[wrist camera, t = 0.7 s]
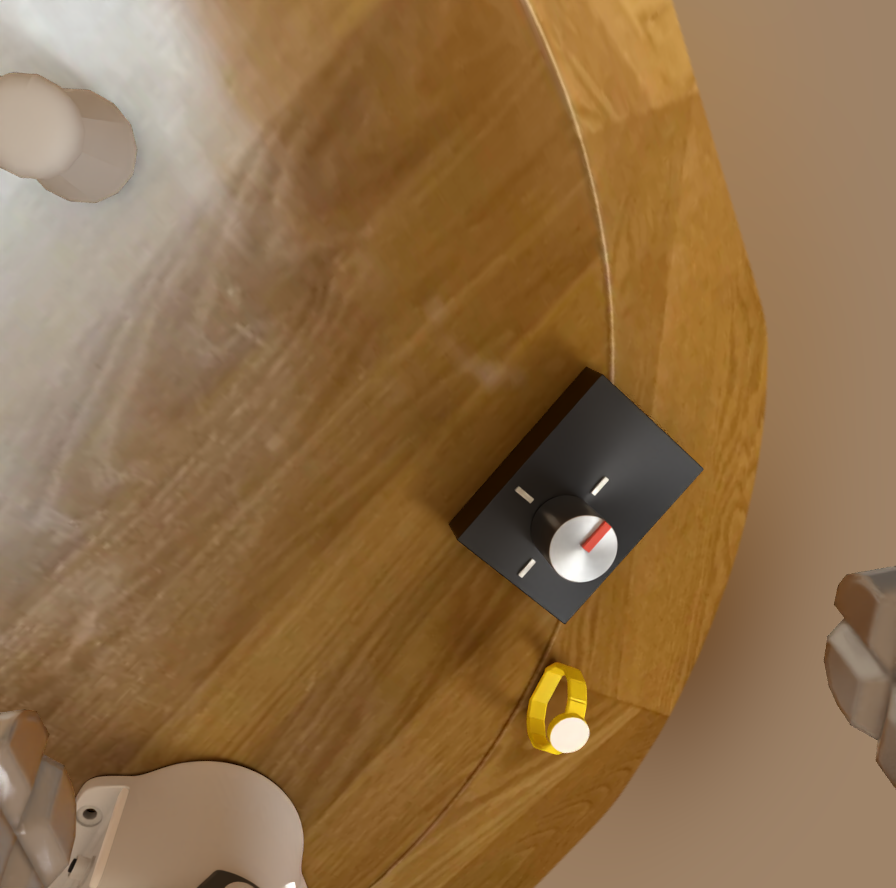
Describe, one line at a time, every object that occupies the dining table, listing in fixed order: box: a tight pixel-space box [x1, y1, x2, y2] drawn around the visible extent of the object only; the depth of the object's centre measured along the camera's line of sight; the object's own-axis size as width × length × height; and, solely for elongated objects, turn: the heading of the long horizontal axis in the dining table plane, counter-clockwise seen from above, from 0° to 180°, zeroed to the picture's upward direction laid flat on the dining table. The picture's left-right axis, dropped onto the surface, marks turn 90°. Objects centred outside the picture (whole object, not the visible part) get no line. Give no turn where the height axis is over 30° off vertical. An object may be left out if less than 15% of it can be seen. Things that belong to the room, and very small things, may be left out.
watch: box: [526, 662, 589, 755], centre depth 59 cm, size 6×3×6 cm, turn 156°
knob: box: [531, 495, 617, 582], centre depth 53 cm, size 4×4×4 cm
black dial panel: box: [449, 367, 704, 624], centre depth 57 cm, size 14×10×3 cm
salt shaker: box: [0, 73, 137, 203], centre depth 41 cm, size 6×6×13 cm
